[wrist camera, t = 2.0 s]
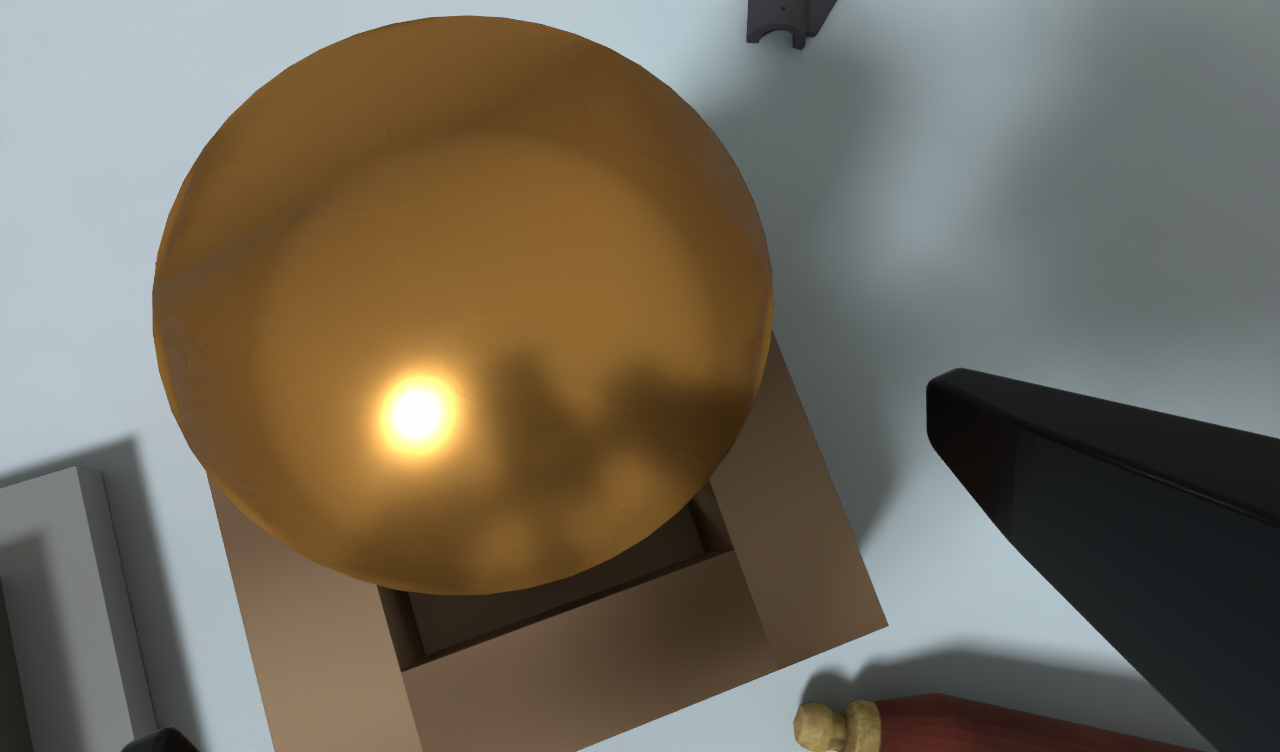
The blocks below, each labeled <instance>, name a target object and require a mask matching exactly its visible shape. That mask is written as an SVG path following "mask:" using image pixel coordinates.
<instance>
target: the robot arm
mask: <svg viewBox="0 0 1280 752" xmlns="http://www.w3.org/2000/svg"><path fill="white" fill-rule="evenodd" d="M926 415H927V434H928V438H929V441H930V443H931V445H932V447H933V448H934V450H935V451H936V452H937V454H938V455H939V456H940V457H941V459H942V460H943V461H944V462H945V464H946V465H947V466H948V467H949V468H950V470H951V471H952V472H953V473H954V475H955V476H956V477H957V478H958V480H959V481H960V482H961V483H962V485H963V486H964V487H965V488H966V490H967V491H968V492H969V493H970V495H971V496H972V497H973V498H974V500H975V501H976V502H977V503H978V505H979V506H980V507H981V508H982V509H983V511H984V512H985V513H986V514H987V516H988V517H989V518H990V519H991V521H992V522H993V523H994V524H995V526H996V527H997V528H998V529H999V530H1000V532H1001V533H1002V534H1003V535H1004V536H1005V537H1006V539H1007V540H1008V541H1009V542H1010V543H1011V544H1012V545H1013V546H1014V547H1015V548H1016V549H1017V550H1018V552H1019V553H1020V554H1021V555H1022V556H1023V557H1024V558H1025V559H1026V560H1027V561H1028V562H1029V563H1030V564H1031V565H1032V566H1033V567H1034V568H1035V569H1036V570H1037V571H1038V572H1039V573H1040V574H1041V575H1042V576H1043V577H1044V578H1045V579H1046V580H1047V581H1048V582H1049V583H1050V584H1051V585H1052V586H1053V587H1054V588H1055V589H1056V590H1057V591H1058V592H1059V593H1060V594H1061V595H1062V596H1063V597H1064V598H1065V599H1066V600H1067V601H1068V602H1069V603H1070V604H1071V605H1072V606H1073V607H1074V608H1075V609H1076V610H1077V611H1078V612H1079V613H1080V614H1081V615H1082V616H1083V617H1084V618H1085V619H1086V620H1087V621H1088V622H1089V623H1090V624H1091V625H1092V626H1093V627H1094V628H1095V629H1096V630H1097V631H1098V632H1099V633H1100V634H1101V635H1102V636H1103V637H1104V638H1105V639H1106V640H1107V641H1108V642H1109V643H1110V644H1111V645H1112V646H1113V647H1114V648H1115V649H1116V650H1117V651H1118V652H1119V653H1120V654H1121V655H1122V656H1123V657H1124V658H1125V659H1126V660H1127V661H1128V662H1129V663H1130V664H1131V665H1132V666H1133V667H1134V668H1135V669H1136V670H1137V671H1138V672H1139V673H1140V674H1141V675H1142V676H1143V677H1144V678H1145V679H1146V680H1147V681H1148V682H1149V683H1150V684H1151V685H1152V686H1153V687H1154V688H1155V689H1156V690H1157V691H1158V692H1159V693H1160V694H1161V695H1162V696H1163V697H1164V698H1165V699H1166V700H1167V701H1168V702H1169V703H1170V704H1171V705H1172V706H1173V707H1174V708H1175V709H1176V710H1177V711H1178V712H1179V713H1180V714H1181V715H1182V716H1183V717H1184V718H1185V720H1186V721H1187V722H1188V723H1189V724H1190V725H1191V726H1192V727H1193V728H1194V729H1195V730H1196V731H1197V732H1198V733H1199V734H1200V735H1201V736H1202V737H1203V738H1204V739H1205V740H1206V741H1207V742H1208V743H1209V744H1210V745H1211V746H1212V747H1213V748H1214V749H1215V750H1216V751H1217V752H1280V439H1279V438H1274V437H1270V436H1265V435H1261V434H1256V433H1252V432H1247V431H1243V430H1238V429H1234V428H1229V427H1225V426H1221V425H1216V424H1212V423H1207V422H1203V421H1198V420H1194V419H1189V418H1185V417H1180V416H1176V415H1171V414H1167V413H1162V412H1158V411H1153V410H1149V409H1145V408H1140V407H1136V406H1131V405H1127V404H1122V403H1118V402H1113V401H1109V400H1104V399H1100V398H1095V397H1091V396H1086V395H1082V394H1077V393H1073V392H1068V391H1064V390H1060V389H1055V388H1051V387H1046V386H1042V385H1037V384H1033V383H1028V382H1024V381H1019V380H1015V379H1010V378H1006V377H1001V376H997V375H992V374H988V373H984V372H979V371H975V370H970V369H965V368H956V369H952V370H950V371H948V372H946V373H944V374H941V375H939V376H937V377H935V378H933V379H931V380H930V381H929V383H928V385H927V388H926ZM121 752H200V751H199V750H198V749H197V748H196V747H195V746H194V745H193V744H192V743H191V742H190V741H189V740H188V739H187V738H186V737H185V736H184V735H183V734H182V733H181V732H180V731H179V730H177V729H176V728H174V727H171V726H166V727H162V728H159V729H157V730H155V731H153V732H150V733H148V734H146V735H144V736H142V737H139V738H137V739H135V740H133V741H131V742H130V743H128V744H127V745H126V746H125V747H124V748H123V749H122V750H121Z"/></svg>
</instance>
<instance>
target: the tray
mask: <svg viewBox="0 0 1280 752" xmlns="http://www.w3.org/2000/svg"><path fill="white" fill-rule="evenodd" d="M155 730H157V724H156V720H155V715H154V711H153V706H152V702H151V697H150V693H149V688H148V683H147V679H146V674H145V670H144V665H143V661H142V656H141V652H140V647H139V642H138V638H137V633H136V629H135V624H134V620H133V615H132V611H131V606H130V601H129V597H128V592H127V588H126V583H125V579H124V574H123V570H122V565H121V560H120V556H119V551H118V547H117V542H116V538H115V533H114V529H113V524H112V519H111V515H110V510H109V506H108V501H107V497H106V492H105V488H104V483H103V478H102V474H101V471H97V470H93V469H88V468H84V467H79V466H73V467H70V468H67V469H63V470H60V471H57V472H53V473H50V474H47V475H43V476H40V477H37V478H33V479H30V480H27V481H23V482H20V483H17V484H13V485H10V486H7V487H3V488H0V752H121V750H122V749H123V748H124V747H125V746H126V745H127V744H128V743H130V742H131V741H133V740H135V739H137V738H139V737H142V736H144V735H146V734H148V733H150V732H153V731H155Z"/></svg>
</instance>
